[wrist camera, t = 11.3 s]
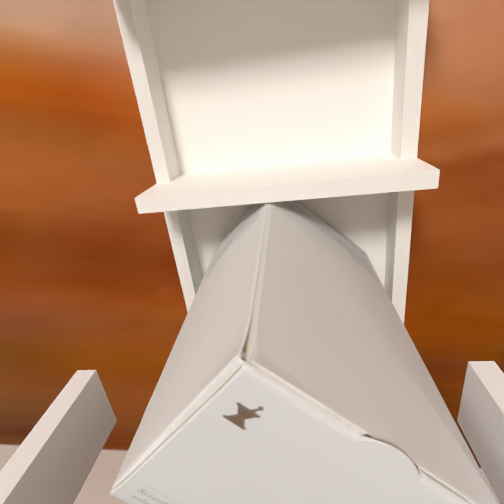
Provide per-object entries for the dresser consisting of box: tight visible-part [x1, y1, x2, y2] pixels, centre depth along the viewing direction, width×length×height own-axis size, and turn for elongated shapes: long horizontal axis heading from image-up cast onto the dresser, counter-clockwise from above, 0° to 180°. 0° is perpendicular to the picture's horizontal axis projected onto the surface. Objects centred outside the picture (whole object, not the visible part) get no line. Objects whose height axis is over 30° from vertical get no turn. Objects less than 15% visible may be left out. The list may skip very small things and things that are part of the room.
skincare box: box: [110, 200, 498, 504], centre depth 15 cm, size 8×7×16 cm
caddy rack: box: [113, 0, 440, 324], centre depth 19 cm, size 14×22×6 cm, turn 7°
